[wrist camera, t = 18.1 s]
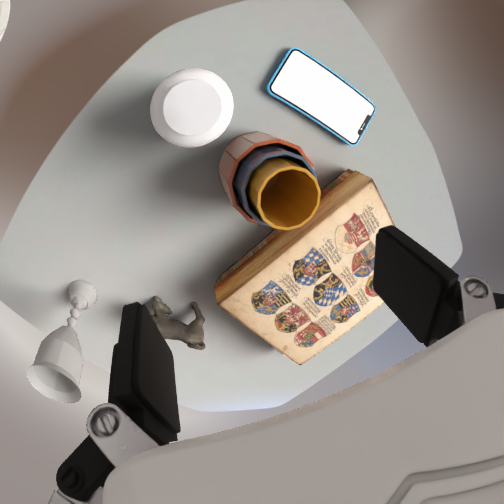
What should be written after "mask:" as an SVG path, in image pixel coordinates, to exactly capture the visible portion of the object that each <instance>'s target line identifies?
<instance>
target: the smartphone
mask: <svg viewBox="0 0 504 504" xmlns="http://www.w3.org/2000/svg"><path fill="white" fill-rule="evenodd" d="M266 89H267V92H268V93H269V94H270V95H271V96H273V97H275V98H277V99H278V100H280V101H282V102H283V103H285V104H287V105H289V106H290V107H292V108H294V109H295V110H297V111H298V112H300V113H302V114H303V115H305V116H306V117H308V118H310V119H311V120H313V121H314V122H316V123H317V124H319V125H320V126H322V127H323V128H325V129H326V130H328V131H329V132H331V133H332V134H334V135H335V136H336V137H338V138H339V139H341V140H342V141H344V142H345V143H346V144H348V145H351V146H355V145H357V144H358V143H359V141H360V139H361V137H362V135H363V134H364V132H365V130H366V128H367V126H368V125H369V123H370V121H371V119H372V117H373V116H374V114H375V112H376V106H375V104H374V103H373V102H372V101H370V100H369V99H368V98H367V97H366V96H364V95H363V94H362V93H361V92H359V91H358V90H357V89H356V88H354V87H353V86H352V85H351V84H349V83H348V82H347V81H345V80H344V79H343V78H341V77H340V76H339V75H337V74H336V73H335V72H333V71H332V70H330V69H329V68H328V67H326V66H325V65H323V64H322V63H320V62H319V61H317V60H316V59H315V58H313V57H311V56H310V55H308V54H307V53H305V52H304V51H302V50H301V49H299V48H292V49H290V50H289V51H288V52H287V53H286V55H285V56H284V58H283V59H282V61H281V63H280V64H279V66H278V68H277V69H276V71H275V72H274V74H273V76H272V77H271V79H270V81H269V82H268V84H267V87H266Z"/></svg>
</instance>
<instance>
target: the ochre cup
mask: <svg viewBox="0 0 504 504" xmlns="http://www.w3.org/2000/svg"><path fill="white" fill-rule="evenodd" d="M245 193H246V197H247V198H248V200H249V201H250V202H251V204H252V205H253V207H254V208H255V209H256V211H257V212H258V214H259V215H260V217H261V218H262V220H263V221H265V222H266V223H267V224H269V225H270V226H271V227H273V228H275V229H281V230H291V229H295V228H298V227H301V226H302V225H304V224H305V223H306V222H308V221H309V220H310V219H311V218H312V217H313V216H314V214H315V212H316V210H317V209H318V207H319V203H320V195H321V191H320V188H319V185H318V182H317V179H316V178H315V177H314V176H313V175H312V174H311V173H310V172H309V171H308V170H307V169H305V168H303V167H301V166H300V165H298V164H296V163H294V162H292V161H290V160H289V159H287V158H285V157H283V156H281V155H280V156H276V157H271V158H266V159H265V160H264V161H263V162H262V163H261V164H260V165H259V166H257V167H256V168H255V169H254V170H253V171H252V172H251V175H250V177H249V180H248V183H247V186H246V189H245Z"/></svg>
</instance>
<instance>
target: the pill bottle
mask: <svg viewBox="0 0 504 504" xmlns="http://www.w3.org/2000/svg"><path fill="white" fill-rule="evenodd" d="M232 114H233V98H232V94H231V91H230V89H229V87H228V86H227V84H226V83H225V82H224V81H223V80H222V79H221V78H220V77H219V76H217V75H216V74H214V73H212V72H210V71H208V70H204V69H199V68H189V69H183V70H180V71H177V72H175V73H173V74H171V75H170V76H168V77H167V78H165V79H164V80H163V81H162V82H161V83H160V84H159V86H158V87H157V89H156V90H155V92H154V94H153V97H152V100H151V104H150V116H151V120H152V123H153V126H154V128H155V129H156V131H157V132H158V133H159V135H160V136H161V137H162V138H164V139H165V140H166V141H168V142H170V143H171V144H174V145H177V146H180V147H188V148H192V147H199V146H203V145H206V144H208V143H210V142H212V141H213V140H215V139H216V138H218V137H219V136H220V135H221V134H222V133H223V132H224V131H225V129H226V128H227V126H228V125H229V123H230V120H231V118H232Z"/></svg>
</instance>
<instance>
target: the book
mask: <svg viewBox="0 0 504 504" xmlns="http://www.w3.org/2000/svg"><path fill="white" fill-rule="evenodd" d="M389 225H393V226H395V225H394V223H393V220H392V218H391V216H390V214H389V212H388V210H387V208H386V205H385V203H384V201H383V199H382V197H381V195H380V193H379V191H378V189H377V187H376V185H375V183H374V181H373V179H372V178H370V177H368V176H366V175H364V174H362V173H360V172H358V171H356V170H355V171H352V170H350V169H348V170H346V171H345V172H343V173H342V174H341V175H340V176H339V177H338V178H337V179H336V180H334V181H332V182H331V183H330V184H329V185H327V186H326V187H325V188H324V189H323V190H322V191H321V195H320V203H319V207H318V209H317V210H316V212H315V214H314V216H313V217H312V218H311V219H310V220H309V221H308V222H306V223H305V224H304V225H302V226H301V227H298V228H295V229H291V230H281V229H275V230H274V231H273V232H271V233H270V234H269V235H268V236H267V237H266V238H265V239H263V240H262V241H261V243H259V244H258V245H257V246H256V247H255V248H253V249H252V250H250V251H249V253H247V254H246V255H245V256H244V257H243V258H242V259H240V260H239V261H237V262H236V263H235V264H234V265H233V266H232V267H230V268H229V269H228V270H227V271H226V272H224V273H223V274H222V275H221V276H220V277H219V279H218V280H217V282H216V285H215V286H214V290H215V295H216V300H217V305H218V306H220V307H221V308H222V309H223V310H225V311H226V312H227V313H229V314H230V315H231V316H233V317H234V318H235V319H236V320H238V321H239V322H240V323H242V324H243V325H244V326H246V327H247V328H248V329H250V330H251V331H253V332H254V333H255V334H257V335H258V336H259V337H261V338H262V339H263V340H265V341H266V342H268V343H269V344H270V345H272V346H273V348H274V349H275V350H277V351H278V352H279V353H281V354H282V355H284V356H285V357H286V356H287V357H289V358H290V359H291V360H293V361H294V362H296V363H297V364H299V365H302V364H303V363H305V362H306V361H307V360H309V359H310V358H312V357H313V356H315V355H316V354H318V353H319V352H320V351H322V350H323V349H325V348H326V347H327V346H329V345H330V344H332V343H333V342H334V341H336V340H337V339H338V338H340V337H341V336H342V335H344V334H345V333H346V332H348V331H349V330H350V329H352V328H353V327H354V326H355V325H357V324H358V323H359V322H360V321H362V320H363V319H364V318H366V317H367V316H368V315H369V314H370V313H372V312H373V311H374V310H375V309H377V308H378V307H379V306H380V305H381V304H383V303H384V301H383V300H382V299H381V298H380V297H379V296H378V295H377V294H376V292H375V291H374V289H373V274H374V260H375V241H376V234H377V233H378V231H379V229H380V228H383V227H386V226H389Z"/></svg>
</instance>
